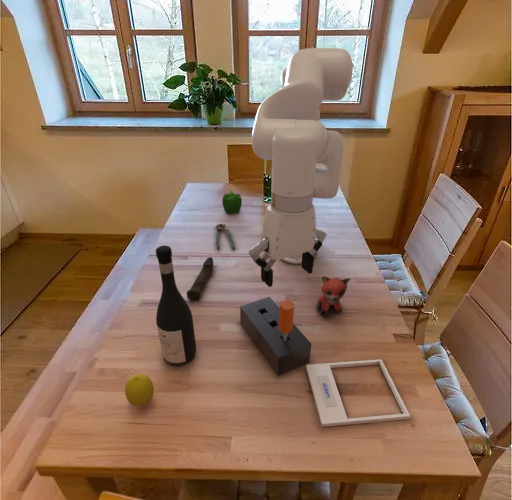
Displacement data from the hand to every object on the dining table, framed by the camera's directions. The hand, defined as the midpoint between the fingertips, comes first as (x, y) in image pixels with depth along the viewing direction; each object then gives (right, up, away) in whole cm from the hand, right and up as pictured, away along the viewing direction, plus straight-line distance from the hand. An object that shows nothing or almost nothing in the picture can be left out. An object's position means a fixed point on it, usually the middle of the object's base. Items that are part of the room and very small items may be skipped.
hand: (287, 276), depth 73 cm
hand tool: (-23, -5, +37) cm, 44 cm away
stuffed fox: (+14, -11, +28) cm, 33 cm away
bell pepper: (-17, +22, +81) cm, 86 cm away
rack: (-2, -18, +16) cm, 24 cm away
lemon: (-30, -27, +1) cm, 41 cm away
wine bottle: (-25, -20, +13) cm, 34 cm away
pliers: (-18, +10, +62) cm, 66 cm away
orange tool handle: (0, -20, +12) cm, 23 cm away
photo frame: (+15, -25, +3) cm, 29 cm away
